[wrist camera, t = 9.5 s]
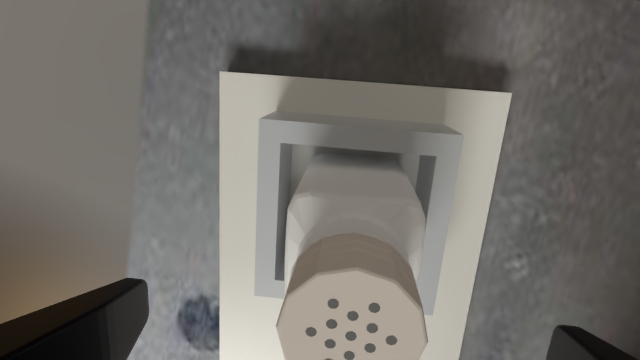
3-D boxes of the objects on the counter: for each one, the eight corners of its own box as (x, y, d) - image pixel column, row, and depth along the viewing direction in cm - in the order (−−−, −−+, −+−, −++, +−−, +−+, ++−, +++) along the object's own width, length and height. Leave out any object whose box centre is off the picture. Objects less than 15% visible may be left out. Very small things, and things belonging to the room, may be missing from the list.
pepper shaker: (306, 234, 18) (255, 402, 9) (310, 149, 17) (258, 239, 8) (393, 242, 18) (434, 423, 8) (403, 156, 17) (463, 257, 7)
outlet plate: (438, 425, 21) (456, 502, 17) (225, 397, 22) (198, 465, 18) (502, 92, 16) (547, 97, 13) (227, 71, 17) (190, 70, 13)
